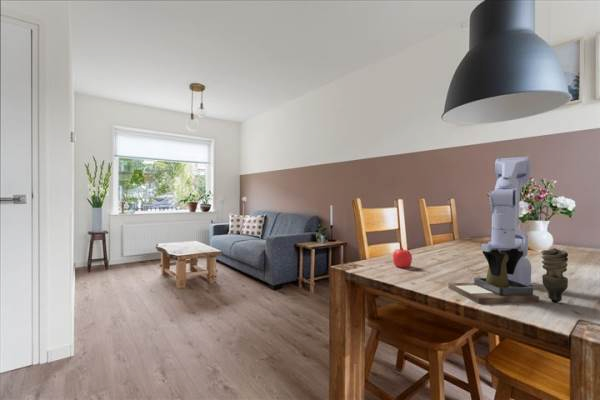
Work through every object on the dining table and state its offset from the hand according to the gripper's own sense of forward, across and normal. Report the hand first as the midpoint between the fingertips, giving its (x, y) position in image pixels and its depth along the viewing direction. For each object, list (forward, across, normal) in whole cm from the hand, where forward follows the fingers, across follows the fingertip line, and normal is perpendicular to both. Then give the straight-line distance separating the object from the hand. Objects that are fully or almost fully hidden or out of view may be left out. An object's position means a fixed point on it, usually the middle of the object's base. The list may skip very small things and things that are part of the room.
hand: (502, 274), depth 83 cm
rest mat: (+4, +9, -2) cm, 10 cm away
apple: (+6, +7, -36) cm, 38 cm away
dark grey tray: (+4, 0, 0) cm, 4 cm away
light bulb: (+6, -8, +8) cm, 13 cm away
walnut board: (+6, +4, -1) cm, 7 cm away
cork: (+5, 0, -2) cm, 5 cm away
